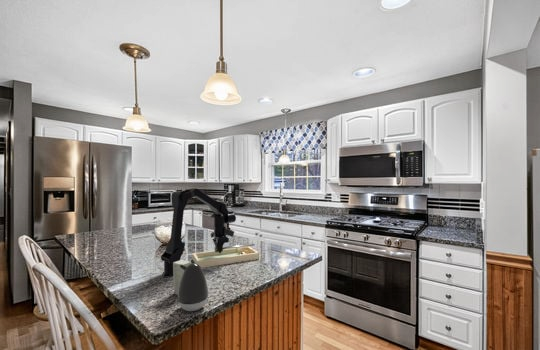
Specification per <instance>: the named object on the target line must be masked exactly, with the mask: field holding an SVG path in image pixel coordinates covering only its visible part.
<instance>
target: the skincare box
mask: <svg viewBox="0 0 540 350" xmlns="http://www.w3.org/2000/svg"><path fill="white" fill-rule="evenodd" d="M190 264H192V261H189V260H185V259H180V260H179V261H176V262H173V276H172V277H173V294H175V295H178V290H179V285H180V281H181V278H182V275H183V273H184V270H183V269H182V268H180V265H184V266H186V267H187V266H188V265H190Z"/></svg>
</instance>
